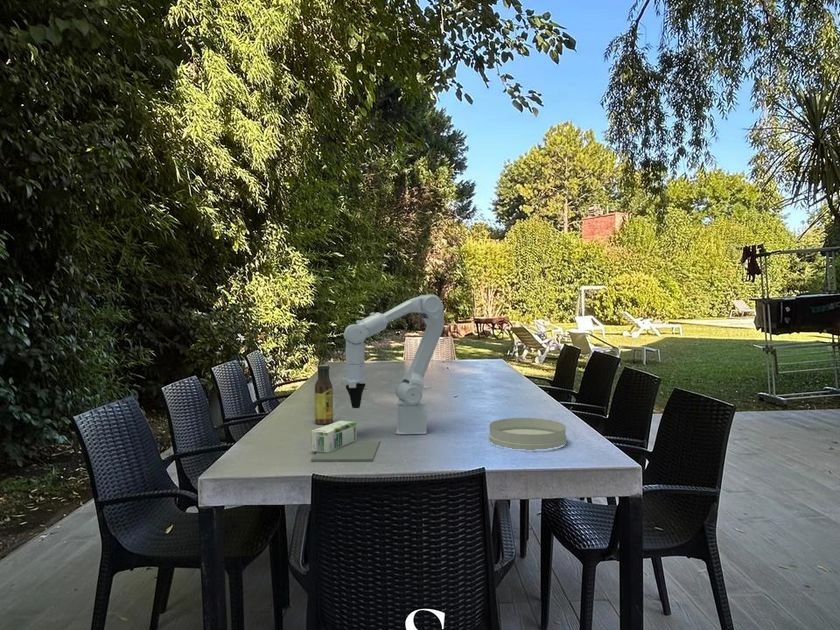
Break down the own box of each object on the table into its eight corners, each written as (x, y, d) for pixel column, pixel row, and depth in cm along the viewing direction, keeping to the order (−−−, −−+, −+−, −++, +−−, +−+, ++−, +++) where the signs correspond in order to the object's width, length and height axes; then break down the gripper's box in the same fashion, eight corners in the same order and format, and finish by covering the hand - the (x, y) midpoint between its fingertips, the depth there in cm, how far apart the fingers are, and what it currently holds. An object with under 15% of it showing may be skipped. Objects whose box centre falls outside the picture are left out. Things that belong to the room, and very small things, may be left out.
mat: (379, 443, 159) (379, 441, 159) (372, 461, 141) (372, 459, 141) (325, 443, 160) (325, 441, 160) (311, 461, 142) (311, 459, 142)
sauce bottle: (329, 425, 184) (328, 366, 184) (311, 424, 185) (310, 366, 185) (336, 421, 191) (335, 364, 190) (319, 420, 192) (318, 364, 191)
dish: (480, 449, 153) (480, 431, 153) (498, 431, 174) (498, 415, 173) (561, 456, 145) (561, 437, 145) (570, 436, 165) (570, 420, 165)
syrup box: (357, 441, 160) (328, 453, 147) (340, 439, 163) (310, 451, 150) (356, 421, 160) (328, 432, 147) (339, 419, 163) (310, 430, 150)
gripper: (345, 361, 175) (346, 403, 175) (338, 366, 160) (339, 412, 161) (367, 360, 175) (368, 403, 175) (362, 366, 160) (363, 412, 161)
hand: (356, 407), depth 168 cm, fingers closed
